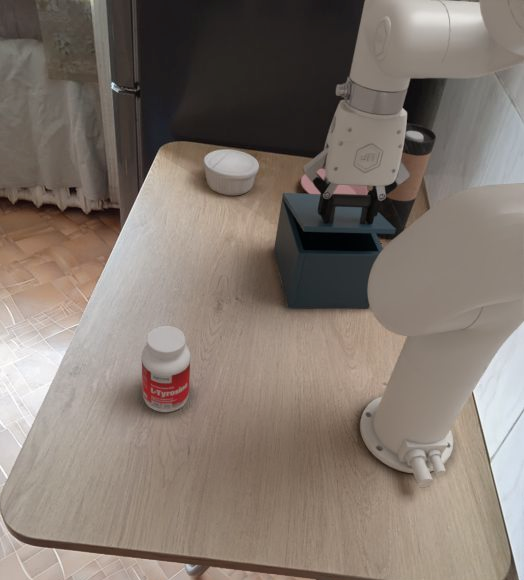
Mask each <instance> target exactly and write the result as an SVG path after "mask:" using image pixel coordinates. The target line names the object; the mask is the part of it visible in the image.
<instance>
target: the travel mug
mask: <svg viewBox="0 0 524 580" xmlns="http://www.w3.org/2000/svg"><path fill="white" fill-rule="evenodd" d="M436 139H437V135H436V133H435V132H434V131H433V130H431V129H429V127H428V128H427V127H425V126H423V125H419V124H416V123H407V124H406V133H405V139H404V146H403V151H402V156H401V162H402V163H403V165H404V166H405V168H406V169H407V171H408V172H409V174H410V176H409V178H408V179H406V180H405V181H403V182H402V183H401V184H398V185H397V187H396V188H395V189H394V190H393V191H391V192H390V193H388V194H387V195H386V198H385V199H384V200H381V203H380V207H379V210H378V212H379V213H380V214H381V215H382V216H383V217H384V218H385V219H386V220H387V221H388V222H389V223H390V224H391V225H392V226H393V227H394V228H395V229H396V230H395V234H378V233H376V234H377V237H378V238H381V239H384V240H393V239H394V238H395V237H397V236H398V235H399V234H400V233H401V232H403V231H404V230H405V229H406V228H405V227H406V225H407V222H408V220H409V218H410V215H411V212H412V210H413V207H414V204H415V201H416V199H417V196H418V194H419V191H420V187H421V185H422V181H423V179H424V176H425V173H426V169H427V166H428V163H429V161H430V158H431V155H432V152H433V149H434V146H435V143H436Z"/></svg>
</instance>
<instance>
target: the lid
mask: <svg viewBox="0 0 524 580" xmlns="http://www.w3.org/2000/svg"><path fill="white" fill-rule="evenodd" d="M320 195H321V194H308V193H299V192H298V193H297V192H282V196H281V199H282V198H283V199H284V201H285V202H286V204H287V206H288V207H289V209H290V210H291V212H292V213H293V215H294V217H295V218H296V220H297V221H298V223H299V225H300V226H301V228H302V229H303V231H304V232H338V233H378V234H395V230H396V229H395V228H394V227H393V226H392V225H391V224H390V223H389V222H388V221H387V220H386V219H385V218H384V217H383V216H382V215H381V214H380V213H379V212H378V214H377V216H375V217H374V220H373V224H368V223H367V222H366V216H367V211H368V208H369V207H370V206H371V196H370V195H355V194H332V197H333V200H334V202H333V207H332V211H331V216H330V221H329V223H324V222H323V220H322V217H321V215H319V214H318V205H319V200H320Z"/></svg>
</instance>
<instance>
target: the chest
mask: <svg viewBox="0 0 524 580" xmlns="http://www.w3.org/2000/svg"><path fill="white" fill-rule="evenodd" d="M278 214H279V217H278V221H277V228H276V233H275V239H274V240H275V241H274V246H273V253H274V257H275V258H274V259H275V262H276V265H277V269H278V274H279V277H280V282H281V286H282V289H283V294H284V298H285V303H286V306H287V309H370V305H369V301H368V292H367V289H368V280H369V275H370V272H371V269H372V266H373V264H374V262H375V260H376V258H377V257H378V255H379V254H380V252H381V251H382V250H383V249H384V247H383V245H382V243H381V241H380V238H379V237H378V236H377V234H376V233H338V232H304V231H303V229H302V228H301V226H300V225H299V223H298V221H297V220H296V218H295V217H294V215H293V213H292V212H291V210H290V209H289V207H288V206H287V204H286V202H285V201H284V199H283V198H282V197H281V202H280V209H279V213H278Z"/></svg>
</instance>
